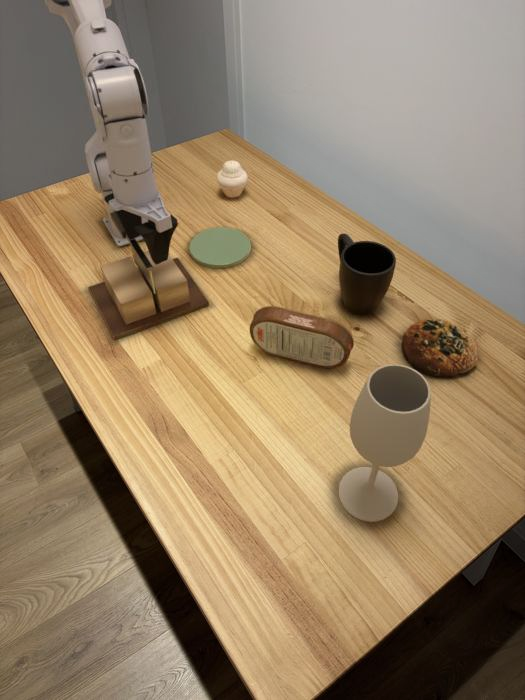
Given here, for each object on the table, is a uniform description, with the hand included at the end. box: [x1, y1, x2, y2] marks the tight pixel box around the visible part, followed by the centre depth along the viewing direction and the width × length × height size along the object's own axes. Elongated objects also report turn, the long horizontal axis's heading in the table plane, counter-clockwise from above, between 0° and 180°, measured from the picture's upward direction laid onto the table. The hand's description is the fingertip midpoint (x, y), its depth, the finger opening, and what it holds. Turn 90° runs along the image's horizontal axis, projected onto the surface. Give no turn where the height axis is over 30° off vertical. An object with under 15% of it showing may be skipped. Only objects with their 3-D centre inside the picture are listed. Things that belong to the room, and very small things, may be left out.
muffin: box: [216, 159, 249, 198], centre depth 109 cm, size 6×6×7 cm
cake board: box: [87, 250, 210, 341], centre depth 89 cm, size 13×16×5 cm
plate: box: [188, 226, 252, 269], centre depth 99 cm, size 11×11×1 cm
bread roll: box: [401, 318, 479, 377], centre depth 82 cm, size 11×11×5 cm
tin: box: [249, 305, 355, 369], centre depth 79 cm, size 15×3×8 cm, turn 71°
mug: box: [337, 232, 397, 316], centre depth 87 cm, size 8×12×10 cm
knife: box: [110, 212, 156, 294], centre depth 87 cm, size 16×1×5 cm, turn 29°
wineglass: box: [338, 363, 432, 523], centre depth 60 cm, size 8×8×21 cm
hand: (147, 248), depth 83 cm, fingers open, 7 cm apart
